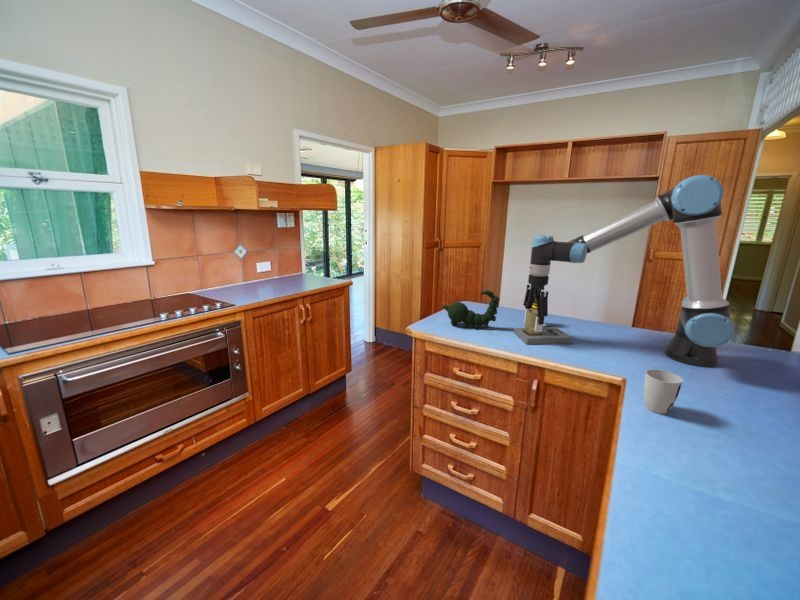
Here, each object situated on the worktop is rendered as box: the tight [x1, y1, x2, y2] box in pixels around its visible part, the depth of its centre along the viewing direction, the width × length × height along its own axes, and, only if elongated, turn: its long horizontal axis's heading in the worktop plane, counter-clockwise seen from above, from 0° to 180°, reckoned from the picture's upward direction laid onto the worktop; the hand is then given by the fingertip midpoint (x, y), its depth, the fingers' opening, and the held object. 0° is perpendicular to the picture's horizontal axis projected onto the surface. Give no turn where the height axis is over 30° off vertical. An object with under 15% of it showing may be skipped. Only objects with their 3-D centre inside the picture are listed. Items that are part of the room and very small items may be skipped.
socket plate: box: [513, 326, 573, 345], centre depth 147 cm, size 13×19×2 cm
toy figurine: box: [441, 289, 500, 330], centre depth 158 cm, size 9×19×25 cm
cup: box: [643, 368, 684, 415], centre depth 94 cm, size 8×8×10 cm
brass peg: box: [524, 310, 540, 336], centre depth 145 cm, size 4×4×12 cm
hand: (532, 327), depth 145 cm, fingers open, 9 cm apart
